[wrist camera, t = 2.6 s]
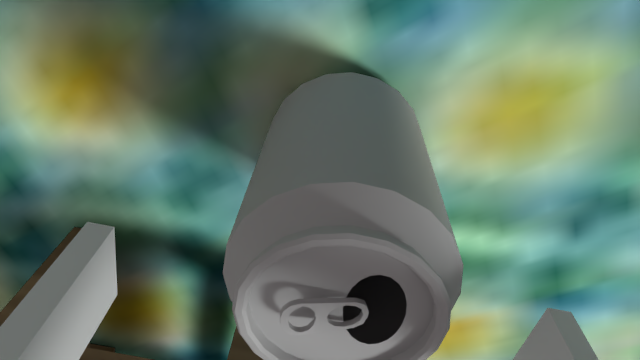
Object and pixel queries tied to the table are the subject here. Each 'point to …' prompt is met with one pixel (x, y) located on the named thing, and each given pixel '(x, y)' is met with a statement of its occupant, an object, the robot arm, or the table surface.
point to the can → (343, 231)
